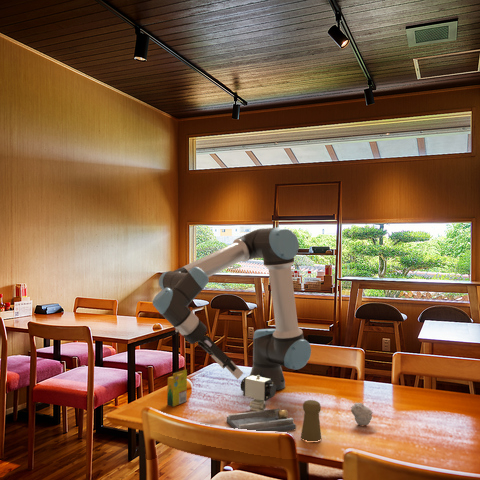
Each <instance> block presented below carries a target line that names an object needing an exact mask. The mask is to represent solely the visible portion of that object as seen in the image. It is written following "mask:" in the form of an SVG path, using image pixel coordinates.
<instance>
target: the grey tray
mask: <svg viewBox="0 0 480 480" xmlns="http://www.w3.org/2000/svg"><path fill="white" fill-rule="evenodd" d="M288 416H289V413H288V410H287V409H282V410H281V408H273V409H265V410H262V411H248V412H238V413H229V414H228V416H226V423H227V424H228V425H229V426H230V427H231V428H232V429H234V428H238V429H247V430H256V431H283V432H287V431H295V430H294V429H297V424H295V423H294V418H293V417H289V418H288Z"/></svg>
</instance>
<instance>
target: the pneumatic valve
mask: <svg viewBox="0 0 480 480" xmlns="http://www.w3.org/2000/svg"><path fill="white" fill-rule="evenodd" d="M240 390H241V391H242V393H243V394H242V395H243V397H248V398H251V399H252V400H250V401H249V407H250V411H251V412H254V411H262V410H266V406H267V405H266V403H265V402H266V401H269V400H270V399H272V398H274V396H276V392H277V390H276V386H275V384H273V379H268V378H265V377H260V375H257V376H253V375H250V374H249V375H247V376H246V377H243V379H241V382H240Z"/></svg>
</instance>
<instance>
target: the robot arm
mask: <svg viewBox="0 0 480 480" xmlns="http://www.w3.org/2000/svg"><path fill="white" fill-rule="evenodd" d="M299 245H300V244H299V240H298V237H297V235H296V234H295V232H293V230H291V229H290V228H286V227H269V228H258V229H255V230H253V231H250V232H248V233H246V234H244V235H241V236H239V237H237V238H236V239H234V240H233V242H232V243H230V244H229V245H226V246H225V247H223V248H220V249H218V250H216V251H214V252H211V253H210V254H208V255H205V256H203V257H201V258H199V259H196V260H194V261H192V262H190V263H188V264H186V265H184V266H182V267H180V268H177V269H175V270H169V271H165V272H163V273H162V274H161V275H160V277H159V278H158V285H159V287H160V289H161V291H159V292H158V293H157V294H156V295H155V296H154V298H153V300H152V306H153V307H154V308H155V309H156V310H157V312H159V314H160V315H161V316H163V318H164V319H165V320H167V321H168V322H169V323H170V325H171V326H173V328H174V330H175V333H179V334H180V335H181V336H183V338H184V339H185V340H186V341H187V342H188V343H189V344H191V345H194V344H197V345H198V346H199V347H201V348H202V349H203V350H204V352H205V353H207V354H208V355H209V356H210V357H211V358H212V359H213V361H215V362H216V363H217V364H218V365H219V366H220V367H221V368H222V369H223V370H224V369H227V370H228V371H229V373H231V375H232V376H233V377H234V378H235V379H236V380H239V379H240V378H241V377H242V375H243V374H244V372H243V370H241V369H240V368H239V367H238V366H237V364H236V363H235V362H234V361H233V360H232V358H230V357H229V356H228V355H227V354H226V353H225V352H224V351H223V349H221V348H220V347H219V346H218V345H217V344H216V343H215V342H214V341H213V340H212V338H211V337H210V336H208V335H207V334H206V333H207V331H208V328H207V326H206V325H205V324H204V323H203V322H202V321H201V320H199V317H198V316H197V315H196V314H195V313H194V312H193V311H192V310H191V309H190V308H189V305H190V304H191V303H192V302H193V300H194V299H195V298H197V297H198V295H199V294H200V293H201V292H202V291H203V290H204V289H205V287H206V286H207V284H208V283H209V280H210V279H209V277H212V276H213V275H215V274H217V273H220V272H221V271H223V270H226V269H228V268H229V267H232V266H234V265H236V264H238V263H240V262H248V261H250V260H253V259H263V266H264V267H265V268H267V269H268V277H269V282H270V283H269V284H270V290H271V291H270V292H271V298H272V308H273V309H272V310H273V316H274V323H275V328H261V329H256V330H255V331H254V332H253V336H252V337H253V339H252V342H253V343H252V368H251V370H250V373H249V376H250V375H253V376H257V375H260V377H265V378H268V379H273V384H275V386H276V391H281V390H283V389H285V387H286V380H285V376H284V372H283V368H282V367H285V368H287V369H291V370H300V369H302V368H304V367H305V366H306V365H307V364H308V362H309V360H310V359H311V355H312V348H311V347H312V346H311V344H310V342H309V341H308V340H306V339H305V338H304V332H303V330H302V329H301V328H300V327H299V324H298V323H299V322H298V316H297V313H298V312H297V306H296V297H295V289H294V288H295V287H294V281H293V273H292V266H293V264H294V263H295V257H296V256H297V254H298V252H299V249H300V248H299V247H300V246H299Z"/></svg>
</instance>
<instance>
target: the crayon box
mask: <svg viewBox="0 0 480 480" xmlns="http://www.w3.org/2000/svg"><path fill="white" fill-rule="evenodd" d="M187 371H188V369H183V370H180V371H175V372H173V373H172V376H169V377H167V398H166V400H167V401H166V402H167V403H166V404H167V406H169V407H172V408H174V407H176V406H178V405H181V404H183V403H186V402H188V401H187V398H188V397H187V391H188V389H187V387H188V386H187V385H188V383H187V382H188V381H187V380H188V372H187Z"/></svg>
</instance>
